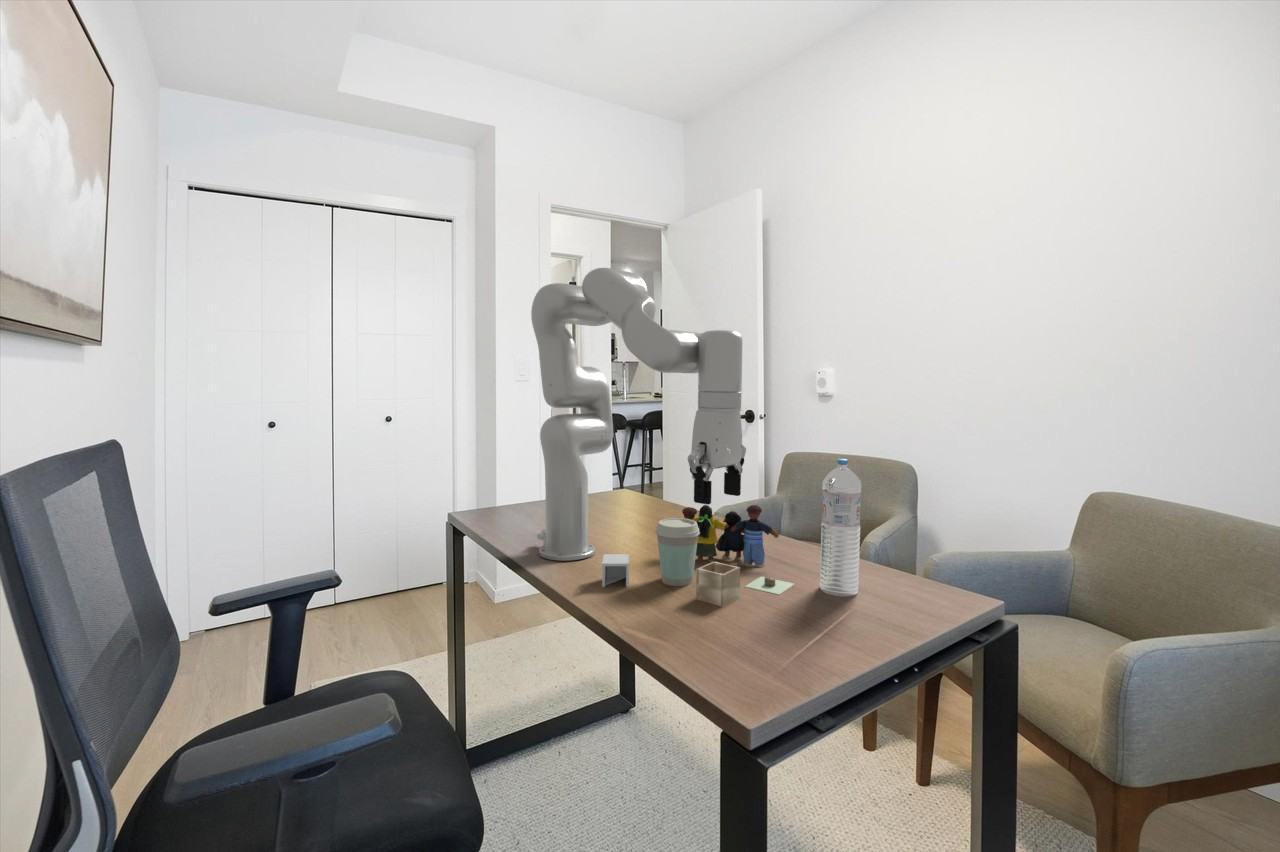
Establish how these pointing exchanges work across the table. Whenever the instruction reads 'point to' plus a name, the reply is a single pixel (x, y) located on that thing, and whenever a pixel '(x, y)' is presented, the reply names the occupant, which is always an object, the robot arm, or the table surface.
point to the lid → (770, 585)
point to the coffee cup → (677, 550)
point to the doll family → (731, 535)
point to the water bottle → (840, 532)
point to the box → (718, 583)
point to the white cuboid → (615, 568)
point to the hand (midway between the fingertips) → (717, 498)
